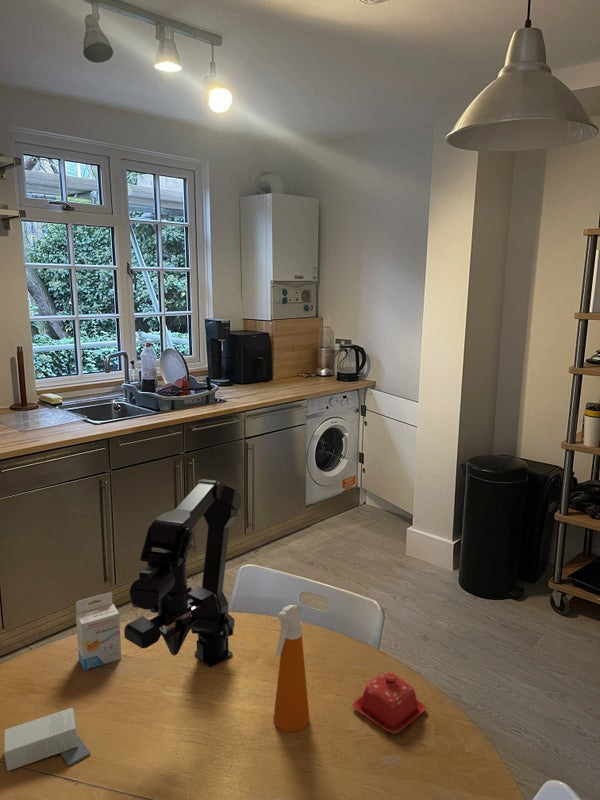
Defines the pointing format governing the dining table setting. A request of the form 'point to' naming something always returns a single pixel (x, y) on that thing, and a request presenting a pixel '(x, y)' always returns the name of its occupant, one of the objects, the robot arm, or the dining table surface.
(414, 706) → the butter dish
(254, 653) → the dining table surface
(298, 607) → the spray bottle
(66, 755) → the flat gray block
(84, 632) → the ink box
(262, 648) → the dining table surface
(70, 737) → the skincare box
